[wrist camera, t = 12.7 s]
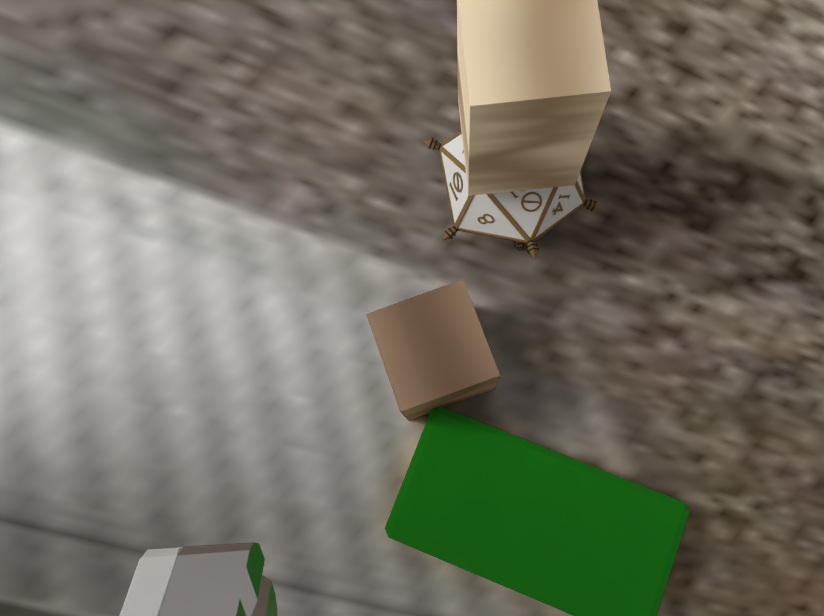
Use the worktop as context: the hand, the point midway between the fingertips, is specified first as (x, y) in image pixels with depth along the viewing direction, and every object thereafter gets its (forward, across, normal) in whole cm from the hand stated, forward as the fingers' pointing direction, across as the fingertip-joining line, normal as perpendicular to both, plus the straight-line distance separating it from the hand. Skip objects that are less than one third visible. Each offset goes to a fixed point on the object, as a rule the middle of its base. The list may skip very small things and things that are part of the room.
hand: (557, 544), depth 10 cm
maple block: (+28, -3, +5) cm, 29 cm away
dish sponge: (+22, -2, +24) cm, 32 cm away
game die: (+34, -3, +11) cm, 36 cm away
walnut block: (+27, +2, +17) cm, 32 cm away
